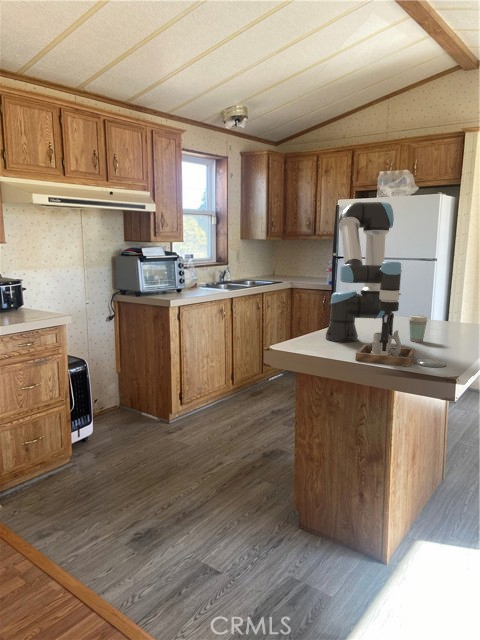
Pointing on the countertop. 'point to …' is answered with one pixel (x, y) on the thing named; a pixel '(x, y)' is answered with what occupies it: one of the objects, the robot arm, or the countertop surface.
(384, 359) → the walnut tray
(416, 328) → the coffee cup
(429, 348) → the countertop surface
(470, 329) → the countertop surface
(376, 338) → the mug
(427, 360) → the grey flat disc
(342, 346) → the countertop surface
